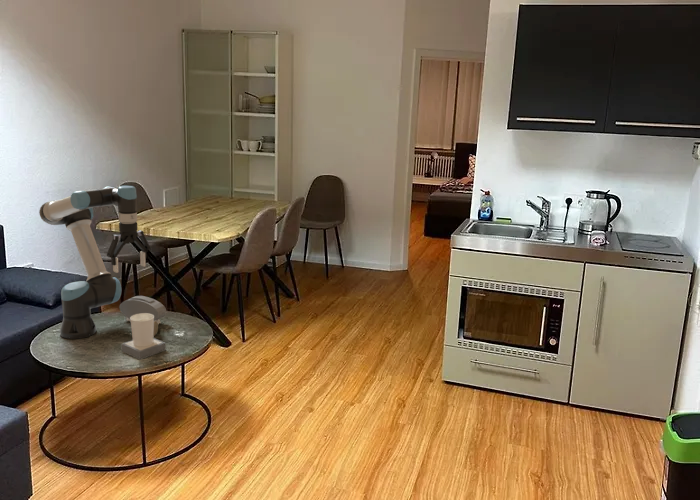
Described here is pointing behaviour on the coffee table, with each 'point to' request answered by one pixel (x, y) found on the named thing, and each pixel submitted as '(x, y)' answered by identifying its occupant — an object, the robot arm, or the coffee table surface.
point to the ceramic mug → (155, 327)
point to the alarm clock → (142, 307)
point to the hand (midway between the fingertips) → (129, 268)
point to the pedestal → (143, 349)
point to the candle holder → (142, 329)
